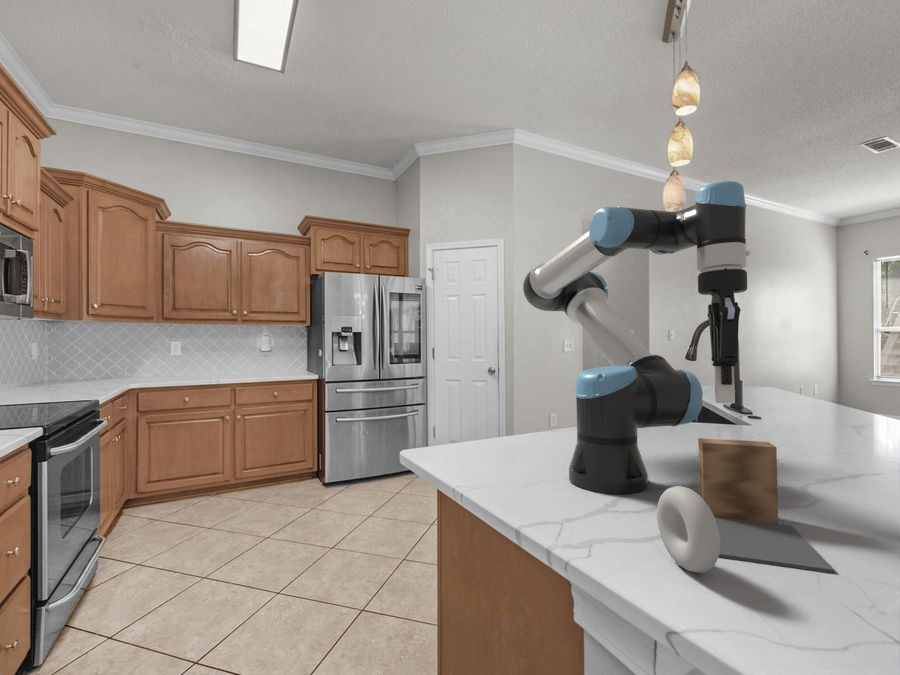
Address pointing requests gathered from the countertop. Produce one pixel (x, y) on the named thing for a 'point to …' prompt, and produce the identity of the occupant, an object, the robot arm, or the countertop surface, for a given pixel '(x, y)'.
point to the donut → (688, 529)
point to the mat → (768, 544)
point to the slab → (739, 479)
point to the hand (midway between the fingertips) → (725, 402)
